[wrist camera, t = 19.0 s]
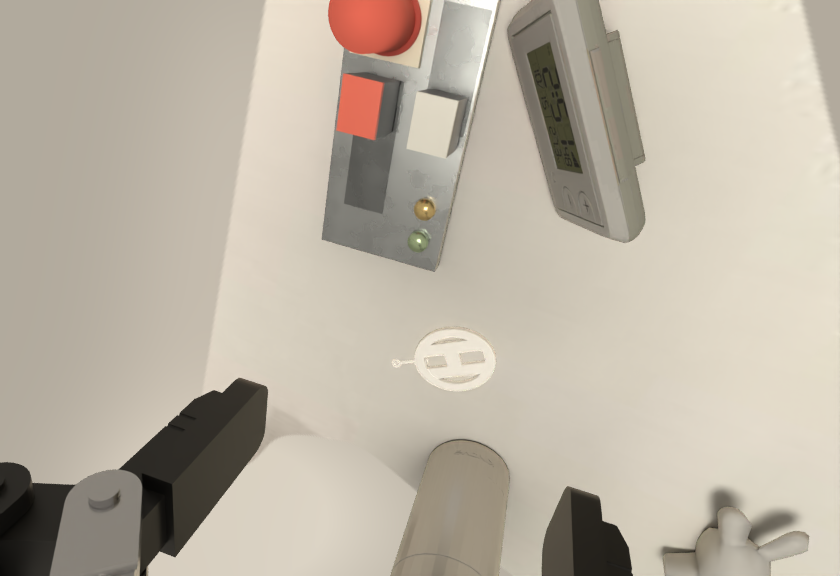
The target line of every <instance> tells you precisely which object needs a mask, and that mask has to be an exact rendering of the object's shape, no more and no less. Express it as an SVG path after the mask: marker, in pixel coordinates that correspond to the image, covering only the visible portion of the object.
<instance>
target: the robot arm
mask: <svg viewBox="0 0 840 576" xmlns="http://www.w3.org/2000/svg"><path fill="white" fill-rule="evenodd" d="M267 397H268V389H267V387H266V386H264V385H261V384H258V383H255V382H252V381H249V380H245V379H242V378H238V379H236V380H235V381H234V382H233V383H232V384H231V385H230V386H229V387H228V388H227V389H226V390H225V391H224V392H223V393H221V392H218V391H215V390H213V391H211V392H209V393H207V394H205V395H203V396H201V397H198V398H196V399H194V400H193V401H192V402H191V403H190V404H189V405H188V406H187V407H186V408H185V409H183V410H182V411H181V412H180V415H179V416H176V417H175V418H174V419H173V420H172V421H171V422H169V423H168V426H167V427H166V426H165V427H164V428H163V429H162V430H161V431H160V432H159V433H158V434H157V435H156V436H154V437H153V438H152V439H151V440H150V441H149V442H148V443H147V444H146V445H145V446H144V447H143V448H142V449H140V450H139V451H138V452H137V453H136V454H135V455H134V456H133V457H132V458H131V459H130V460H129V461H127V462H126V463H125V464H124V465H123V466H122V467H121V468H120V469H118V470H106V471H102V472H99V473H95V474H93V475H91V476H88V477H87V478H85V479H83V480H82V481H80V482H79V483H78V484H76V485H63V484H42V483H32V480H31V475H30V472H29V471H28V469H27V468H25V467H24V466H22V465H19V464H16V463H8V462H4V463H0V576H148V565H149V564H150V562H151V561H152V560H153V559H154V558H155V556H156V555H157V554H158V552H159V551H160V552H163V553H166V554H168V555H171V556H173V557H176V556H177V554H178V553H179V552H180V550H181V549H182V548H183V546H184V545H185V544H186V543H187V541H188V540H189V539H190V537H191V536H192V535H193V533H194V532H195V531H196V530H197V528H198V527H199V526H200V524H201V523H202V522H203V521H204V519H205V518H206V517H207V515H208V514H209V513H210V511H211V510H212V509H213V508H214V506H215V505H216V504H217V502H218V501H219V499H220V498H221V497H222V496H223V495H224V493H225V492H226V491H227V489H228V488H229V487H230V486H231V484H232V483H233V481H234V480H235V479H236V478H237V476H238V475H239V474H240V473H241V471H242V470H243V469H244V467H245V466H246V465H247V463H248V462H249V461H250V460H251V458H252V457H253V456H254V454H255V453H256V452H257V450H258V448H259V446H260V444H261V442H262V440H263V437H264V433H265V425H266V411H267ZM509 481H510V476H509V471H508V469H507V466H506V464H505V463H504V461H503V460H502V459H501V457H500V456H498V455H497V454H496V453H495V452H494V451H492V450H491V449H489V448H488V447H486V446H484V445H481V444H479V443H476V442H472V441H464V440H457V441H450V442H447V443H444V444H442V445H440V446H438V447H437V448H436V449H435V450H434V451H433V452H432V453H431V455H430V456H429V459H428V462H427V465H426V468H425V471H424V474H423V477H422V480H421V483H420V486H419V489H418V492H417V495H416V498H415V501H414V505H413V508H412V511H411V514H410V517H409V520H408V523H407V526H406V529H405V532H404V535H403V538H402V541H401V544H400V548H399V551H398V554H397V557H396V560H395V563H394V566H393V569H392V572H391V576H499V570H500V561H501V552H502V544H503V535H504V526H505V517H506V510H507V500H508V491H509ZM631 571H632V567H631V560H630V554H629V547H628V546H627V544H626V542H625V540H624V538H623V536H622V535H621V533H620V531H619V529H618V527H617V526H616V525H613V524H610V523H607V522H604V521H602V512H601V503H600V498H599V497H598V496H597V495H593V494H590V493H587V492H584V491H581V490H578V489H575V488H572V487H569V486H567V487H566V488H565V490H564V492H563V494H562V497H561V499H560V501H559V503H558V505H557V508H556V510H555V512H554V514H553V517H552V519H551V521H550V523H549V526H548V528H547V531H546V534H545V539H544V544H543V551H542V576H633V574H632V573H631Z"/></svg>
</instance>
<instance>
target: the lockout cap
mask: <svg viewBox="0 0 840 576" xmlns="http://www.w3.org/2000/svg"><path fill="white" fill-rule="evenodd" d="M328 17H329V23H330V27H331V30H332V32H333V34H334V36H335V38H336V40H337V41H338V42H339V43H340V44H341V45H342V46H343V47H344V48H345V49H347V50H349V51H351V52H353V53H357V54H371V53H375V54H378V55H381V56H395V55H399V54H402V53H404V52H405V51H407V50H408V49H409V48H410V47H411V46H412V45H413V44H414V42H415V41H416V39H417V37H418V35H419V32H420V29H421V21H422V16H421V9H420V5H419V2H418V0H330V3H329V10H328Z"/></svg>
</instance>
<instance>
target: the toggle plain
mask: <svg viewBox="0 0 840 576" xmlns="http://www.w3.org/2000/svg"><path fill="white" fill-rule="evenodd" d="M467 101H468V97H465V96H461V95H457V94H453V93H448V92H444V91H440V90H436V89H431V88H430V89H425V90H421V91H417V93H416V98H415V104H414V109H413V115H412V120H411V126H410V131H409V137H408V142H407V148H406V149H409V150H413V151H417V152H421V153H425V154H429V155H433V156H437V157H441V158H445V159H446V158H447V157H448V156H449V155H451V154H452V153H453V152H454V151H455V150H456V149H457V145H458V140H459V136H460V131H461V127H462V123H463V118H464V114H465V109H466V105H467Z"/></svg>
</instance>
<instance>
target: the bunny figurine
mask: <svg viewBox="0 0 840 576" xmlns="http://www.w3.org/2000/svg"><path fill="white" fill-rule="evenodd" d="M717 517H718V529H717V528H708V529H707V530H705V531H704V532H703V533H702V534H701V536H700V537H699V539H698V541H697V544H696V551H695V552H691V553H665V555H664V557H663V565H664V572H665V576H771V563H770V562H771V561H775V560H779V559H783V558H787V557H791V556H794V555H798V554H802V553H804V552H806V551H808V542H809V535H807V534H806V533H805V532H800V531H793V532H789V533H786V534H784V535H783V536H781V537H779V538H777V539H775V540H773V541H771V542H768V543H766V544H764V545H762V546H760V547H759V546H758V545H757V544H755V543H754V542H752V541H751V540H749V539H748V535H749V532H750V530H751V527H752V526H751V523H750V521H749V520H748V519H747V518H746V516H745V515H744V514H743V513H742V512H741V511H740V510H738V509H736V508H734V507H724V508H721V509H720V510H719V511H718V513H717Z"/></svg>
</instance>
